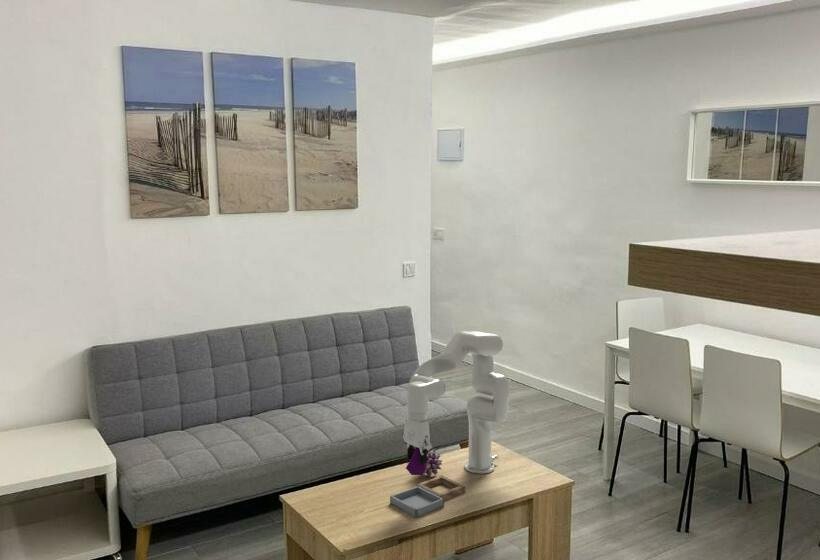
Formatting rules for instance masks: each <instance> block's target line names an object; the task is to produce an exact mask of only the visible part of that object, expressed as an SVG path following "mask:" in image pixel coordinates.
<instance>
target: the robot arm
mask: <svg viewBox="0 0 820 560" xmlns="http://www.w3.org/2000/svg"><path fill="white" fill-rule="evenodd" d="M503 342H504V341H503V339H502V337H501V336H499V334H496V333H489V332H484V331H477V330H467V331H466V330H460V331H457V332H456V333H455V334H454V335H453V336H452V337H451V338H450V340H449V341H448V343H447V344H446V346H445V347H444V348H443V350H442V351H441V353H440V354H439V355H437V356H434V357H432V358H430V359H428V360H426V361H425V362H423V363H421V365H419V366H418V367H417V368H416V370H415V371H414V373H413V374H412V375H411V378H410V379H409V381H408V385H407V387H406V388H407V391H406V392H407V398H406V399H407V400H406V401H407V402H406V403H407V405H406V407H407V409H406V411H407V416H405V421H404V428H403V435H402V438H403V440H404V443H405V445H406V449H407V450H406V451H407V453H406V454H407V457H406V458H407V460H410V459H411V457H412V455H413V453H414V450H415V447H417V448H419V449H420V452H421V454H420V465H422V464H423V463H424V464H426V463H427V453H428V452H429V451H430V452H431V451H432V450H433V445H432V443H431V442H430V438H431V437H430V423H429V420H428V406H429V405H428V402H429V401H432V400H438V399H439V398H442V397H443V396H444V395H445V393H446V385H445V382H444V381H443V380H442V379H438V378H434V377H432V376H435V375H437V374H442V373H447V372H452V371H455V370H457V369H458V367H460V365H461V364H462V362H463V360H464V359H465V357H467V355H468V354H470V355H471V358H472V377H471V388H472V390H473V391H474V392H476V393H479V394H483V395H472V396H471V397H470V398H469V399H467V404H466V412H467V419H468V457H467V458H468V460H467V461H466V462H465V463H464V469H465V470H466V471H468V472H470V473H472V474H483V475H484V474H489V473H491V472H494V470H495V464H494V463H493V462H494V461H496V460H499V455H497V454H495V455H492V426H491V423H494V424H503V423H504V422H505V420H506V419H507V416H508V411H509V400H510V382H509V379H508V377H507V376H506V375H504V374H501V373H497V372H495V371H494V357H493V356H497V355H498V354H500V353H501V351H502V350H503V346H504V343H503ZM484 395H487V396H484ZM488 396H491V397H492V398H491V397H488ZM490 422H491V423H490Z"/></svg>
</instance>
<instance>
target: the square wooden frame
mask: <svg viewBox="0 0 820 560" xmlns="http://www.w3.org/2000/svg"><path fill="white" fill-rule="evenodd" d="M441 484H442V485H443V486H446V487H448V488H450V489H448V490H445V491H442V492H441V493H440V492H438V491H436V490H434V489H432V487H436V486H438V485H441ZM416 486H419V487H421V488H423V489H425V490H427V491H429V492H431V493H433V494H435V495H437V496H439V497H441V498H443V499H444V501H447V500H449V499H451V498H454V497H456V496H459V495H462V494H464V493H466V486H465V485H463V484H461V483H460V482H457V481H455V480H453V479H451V478H448V477H446V476H444V475H443V474H441V475H438V476H436V477H433V478H431V479H428V480H425V481H422V482H419V483H417V484H416V485H415V487H416Z"/></svg>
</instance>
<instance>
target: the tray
mask: <svg viewBox="0 0 820 560" xmlns="http://www.w3.org/2000/svg"><path fill="white" fill-rule="evenodd" d="M389 503H390V505H392V506H394V507H396V508H398V509H399V510H401V511H403V512H404V513H407V514H408V515H410V516H412V517H414V518H420V517H422V516H424V515H426V514H429V513H431V512H433V511H436V510H438V509H439V510H440V509H441V508H444V507H445V500H444V499H443V498H441V497H439V496H437V495H435V494H433V493H431V492H429V491H427V490H425V489H423V488H421V487H419V486H416V485H415V486H414V487H411V488H409V489H406V490H404V491H400V492H398V493H395V494H393V495H390V497H389Z"/></svg>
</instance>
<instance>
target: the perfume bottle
mask: <svg viewBox="0 0 820 560" xmlns="http://www.w3.org/2000/svg"><path fill="white" fill-rule="evenodd" d="M414 447H415V446H414ZM420 454H421V452H420V449H419V448H417V447H415V450H414V453H413V455H412V457H411V459H409V460H408V461H409V462H408V463H407V465H406V467H405V469H406V471H408V472H409V474H411V476H422V475H423V473H424V472H425V470H426V468H427V465H428V463H429V461H428V460H427V463H426V464H424V463H423V464H422V465H420ZM423 476H424V475H423Z"/></svg>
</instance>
